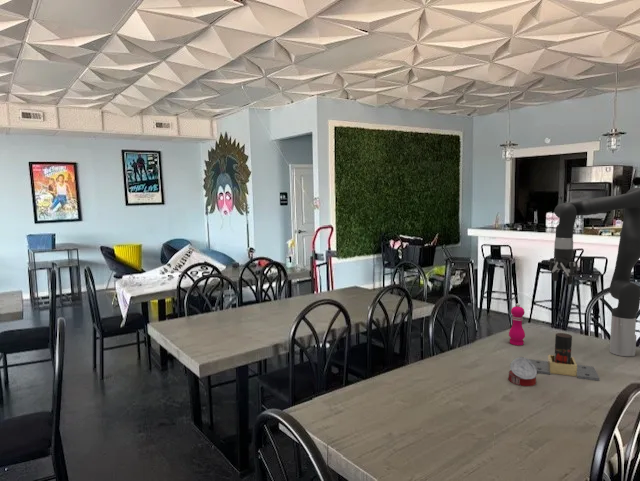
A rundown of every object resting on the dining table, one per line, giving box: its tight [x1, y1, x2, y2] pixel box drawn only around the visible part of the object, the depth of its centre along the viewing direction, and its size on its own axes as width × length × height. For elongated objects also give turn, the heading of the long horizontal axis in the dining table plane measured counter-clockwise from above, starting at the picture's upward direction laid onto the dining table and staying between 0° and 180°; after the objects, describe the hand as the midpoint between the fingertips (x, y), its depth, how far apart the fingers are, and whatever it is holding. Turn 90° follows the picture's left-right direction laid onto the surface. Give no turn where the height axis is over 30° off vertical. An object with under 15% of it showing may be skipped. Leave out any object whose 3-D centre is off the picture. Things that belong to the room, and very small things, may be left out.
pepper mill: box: [508, 303, 526, 347], centre depth 221 cm, size 7×7×20 cm
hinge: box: [528, 354, 600, 382], centre depth 188 cm, size 25×13×4 cm, turn 68°
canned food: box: [508, 356, 538, 387], centre depth 178 cm, size 11×10×10 cm
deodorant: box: [554, 332, 573, 364], centre depth 188 cm, size 6×6×15 cm
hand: (562, 282), depth 208 cm, fingers open, 8 cm apart
